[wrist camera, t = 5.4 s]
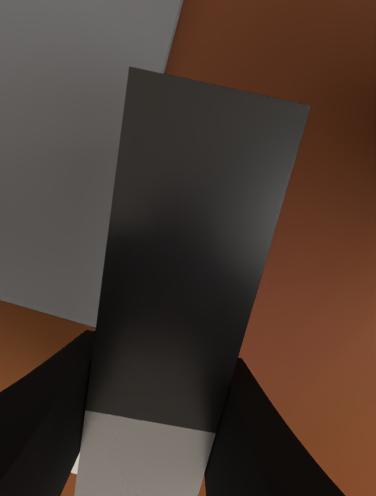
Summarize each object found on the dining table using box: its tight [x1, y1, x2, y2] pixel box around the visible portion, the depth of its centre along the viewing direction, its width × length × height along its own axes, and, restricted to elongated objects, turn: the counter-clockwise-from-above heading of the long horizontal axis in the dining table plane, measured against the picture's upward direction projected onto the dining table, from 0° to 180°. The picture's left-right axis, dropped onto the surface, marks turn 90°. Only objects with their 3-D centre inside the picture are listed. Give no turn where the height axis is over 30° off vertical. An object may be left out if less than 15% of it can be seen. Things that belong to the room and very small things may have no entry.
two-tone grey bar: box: [74, 66, 311, 496], centre depth 9 cm, size 3×14×4 cm, turn 169°
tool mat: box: [0, 0, 183, 328], centre depth 13 cm, size 8×18×1 cm, turn 162°
